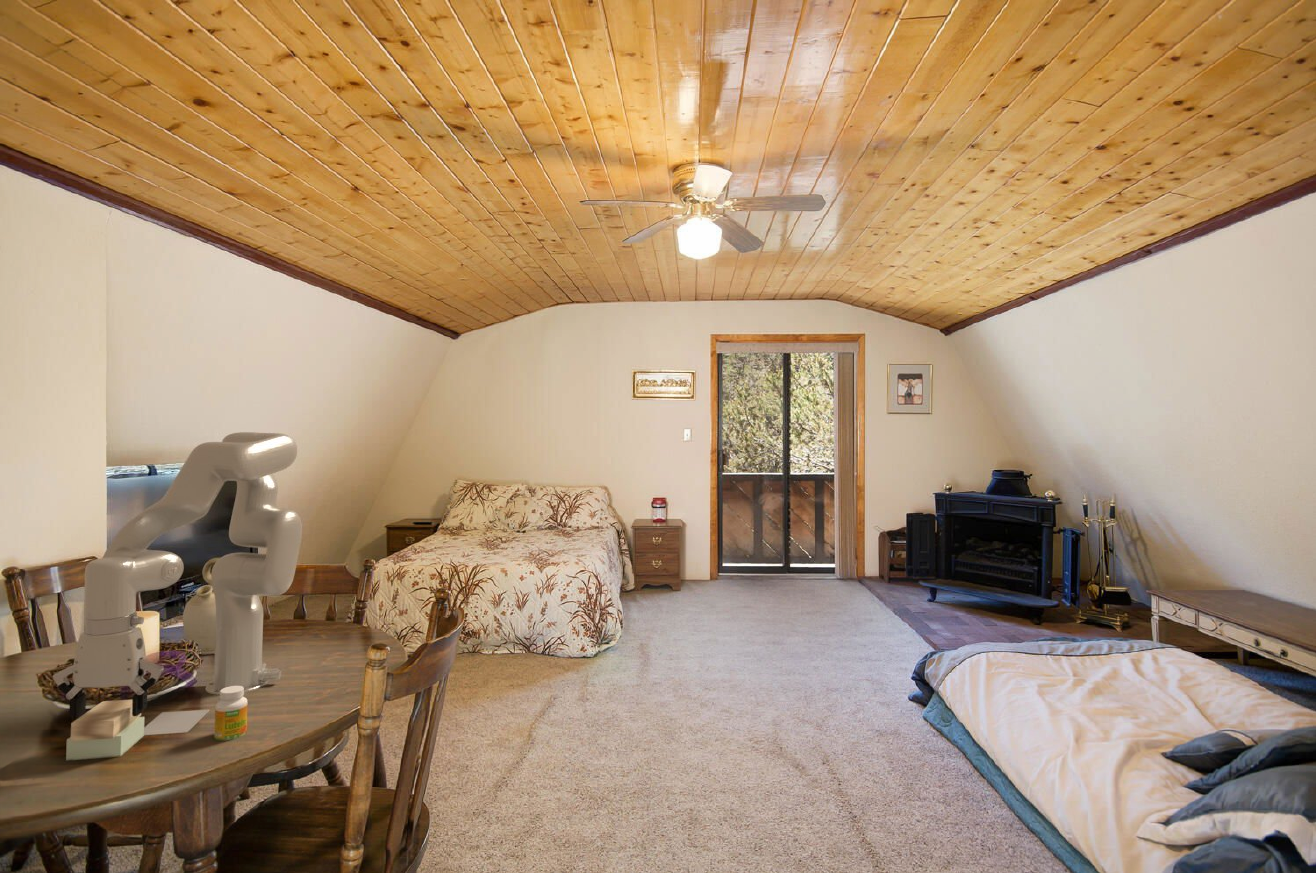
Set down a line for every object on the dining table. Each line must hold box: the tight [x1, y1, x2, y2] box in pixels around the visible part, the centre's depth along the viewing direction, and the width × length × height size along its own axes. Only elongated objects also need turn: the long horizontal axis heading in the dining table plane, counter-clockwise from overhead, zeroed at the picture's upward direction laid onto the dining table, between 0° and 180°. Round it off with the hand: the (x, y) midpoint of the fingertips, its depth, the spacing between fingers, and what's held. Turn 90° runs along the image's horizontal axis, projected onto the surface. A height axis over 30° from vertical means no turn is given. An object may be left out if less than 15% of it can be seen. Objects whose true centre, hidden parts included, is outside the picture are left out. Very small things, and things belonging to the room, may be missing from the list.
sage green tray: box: [65, 716, 145, 761], centre depth 125 cm, size 8×8×4 cm
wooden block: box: [70, 699, 142, 741], centre depth 125 cm, size 6×10×3 cm, turn 14°
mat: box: [144, 709, 210, 736], centre depth 136 cm, size 9×11×1 cm
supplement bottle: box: [213, 686, 248, 742], centre depth 132 cm, size 5×5×10 cm
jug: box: [182, 557, 221, 656], centre depth 184 cm, size 15×16×25 cm
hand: (108, 715), depth 125 cm, fingers open, 9 cm apart
